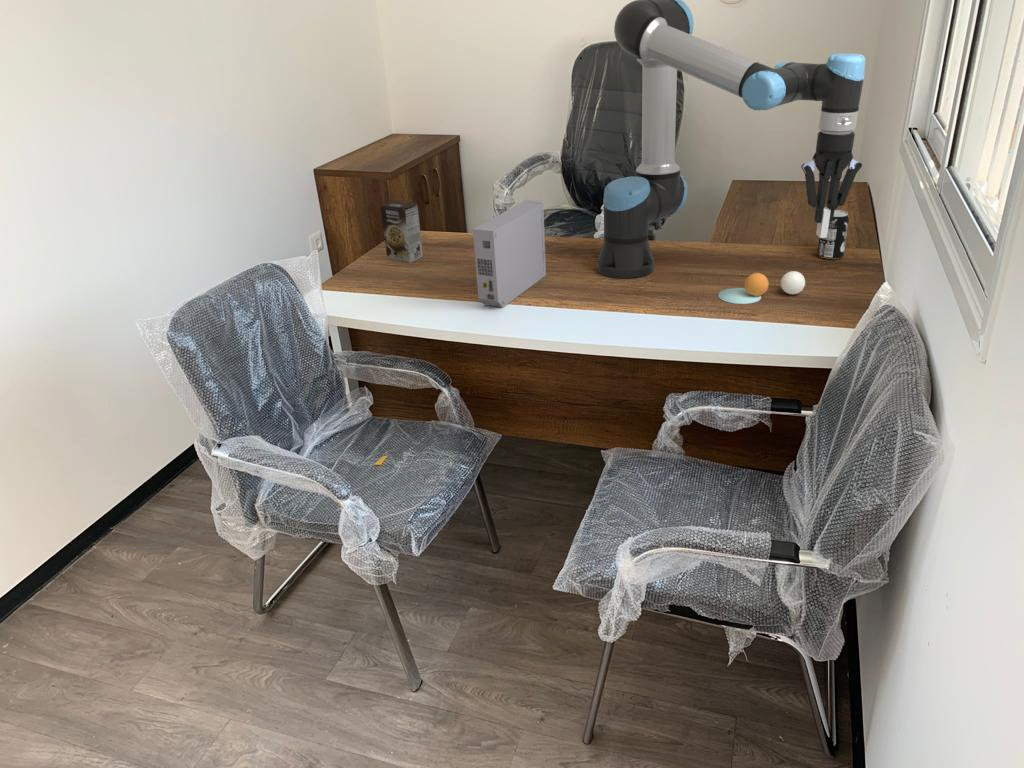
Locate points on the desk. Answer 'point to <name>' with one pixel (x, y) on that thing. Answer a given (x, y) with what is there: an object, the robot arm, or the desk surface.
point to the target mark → (737, 296)
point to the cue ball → (793, 282)
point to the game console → (510, 253)
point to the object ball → (756, 284)
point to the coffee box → (401, 231)
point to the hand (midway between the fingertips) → (821, 235)
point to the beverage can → (835, 236)
